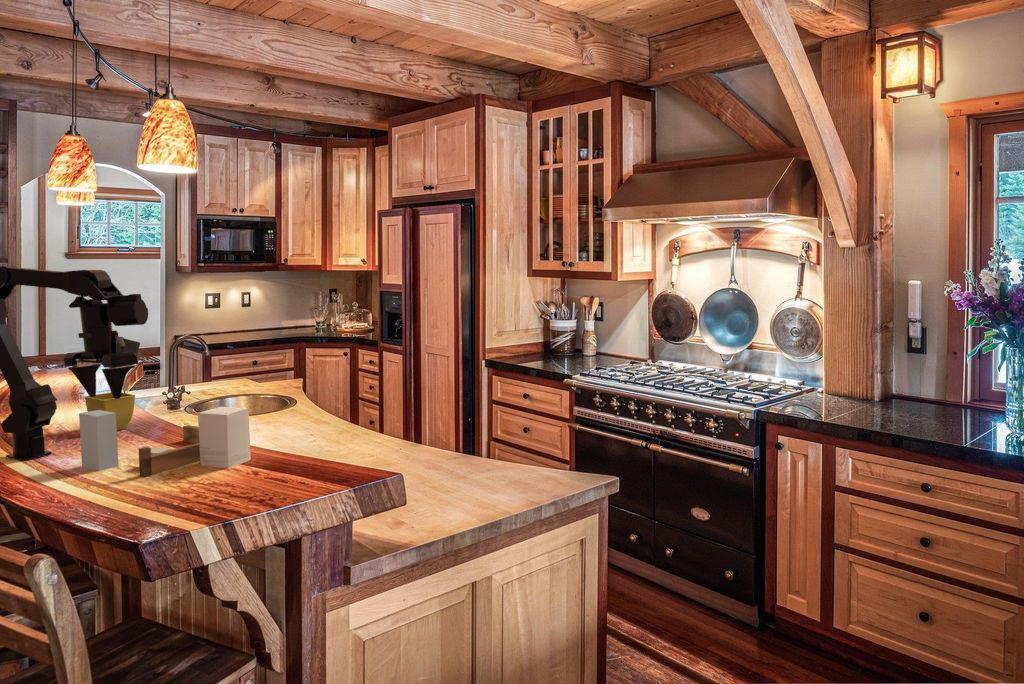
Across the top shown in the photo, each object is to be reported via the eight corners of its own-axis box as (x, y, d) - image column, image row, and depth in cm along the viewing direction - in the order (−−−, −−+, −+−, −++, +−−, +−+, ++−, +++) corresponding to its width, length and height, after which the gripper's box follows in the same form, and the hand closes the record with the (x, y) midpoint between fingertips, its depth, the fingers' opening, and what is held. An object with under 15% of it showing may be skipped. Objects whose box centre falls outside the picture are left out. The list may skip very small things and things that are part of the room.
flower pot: (137, 428, 193) (136, 394, 192) (104, 435, 186) (102, 399, 185) (118, 424, 198) (117, 391, 197) (85, 430, 190) (83, 396, 190)
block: (82, 470, 152) (79, 413, 150) (101, 466, 155) (98, 409, 154) (99, 475, 149) (96, 416, 147) (118, 470, 152) (115, 412, 151)
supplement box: (252, 466, 158) (250, 408, 157) (228, 475, 151) (226, 414, 150) (223, 463, 160) (221, 405, 159) (199, 472, 153) (196, 412, 152)
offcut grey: (141, 459, 151) (141, 451, 151) (155, 454, 155) (154, 447, 154) (158, 460, 150) (158, 453, 150) (171, 455, 154) (171, 448, 154)
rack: (86, 473, 152) (84, 439, 151) (188, 446, 175) (187, 416, 174) (145, 484, 145) (143, 449, 144) (244, 454, 167) (243, 424, 167)
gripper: (157, 323, 164) (164, 393, 165) (107, 324, 173) (115, 389, 175) (108, 328, 154) (116, 402, 156) (58, 328, 164) (67, 398, 165)
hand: (105, 397), depth 163 cm, fingers open, 9 cm apart
